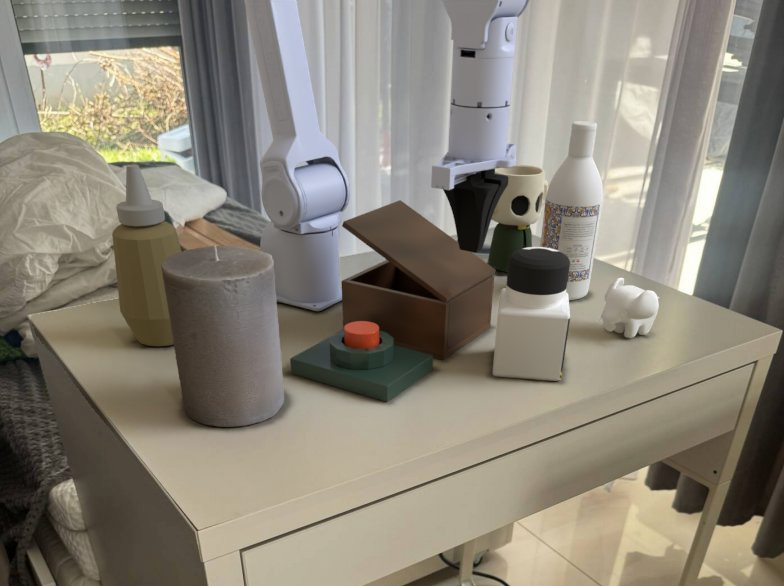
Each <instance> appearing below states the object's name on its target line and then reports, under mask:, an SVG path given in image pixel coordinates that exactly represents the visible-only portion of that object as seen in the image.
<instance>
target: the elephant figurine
mask: <svg viewBox="0 0 784 586" xmlns="http://www.w3.org/2000/svg"><path fill="white" fill-rule="evenodd" d="M624 284H625V278H623V277H618V278H616V279H615V280H614V281H613V282H612V283H611V284H610V285H609V286H608V288H607V289H606V291H605V294H604V302H605V305H604V307H603V310H602V312H601V315H600V317H599V319H598V321H601V320H602V324H603V327H604V329H605V330H606V331H607V332H613V331H614V332H615V333H617V334H622V333H623V336H624V337H625V338H627V339H633V338H635V337H636V335H637V334H638V335H641V336H646V335H648V334H649V332H650V330H651V328H652V327H653V324H654V322H655V320H656V318H657V315H658V312H659V308H660V307H659V305H660V304H659V299H660V297H659V296H658V295H657V293H656V292H655V291H653V290H650V289H647V290H645V289H643V288H641V287H638V286H636V285H632V284H628V285H624Z"/></svg>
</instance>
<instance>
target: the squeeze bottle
mask: <svg viewBox="0 0 784 586" xmlns="http://www.w3.org/2000/svg"><path fill="white" fill-rule="evenodd" d="M125 169H126V170H125V171H126V173H125V175H126V176H125V177H126V178H125V200H124V201H121V202H119V203H117V204H116V206H115V208H116V214H117V219H118V223H120V224H119V225H117V226H116V227H115V228H114V229H113V230H112V237H111V238H112V244H113V245H112V246H113V255H114V263H115V264H114V265H115V273H116V285H117V293H118V300H119V301H118V302H119V311H120V313H121V315H122V317H123V318H124V320H125V322H126V325H128V327H129V329H130V331H131V332H132V334H133V336H134V338H135V339H136V340H137V342H139V343H140V344H142V345H144V346H148V347H149V346H151V347H167V346H168V347H169V346H172V345H173V346H174V343H173V335H172V329H171V323H170V316H169V311H168V304H167V299H166V293H165V287H164V280H163V274H162V268H161V265H162V263H163V261H164V260H165V259H167V258H168V257H169V256H171V255H173V254H175V253H178V252H182V251H183V250H182V247H181V243H180V239H179V236H178V232H177V228H176V227H175V226H174V225H173V224H172V223H169V222H168V221H166V215H165V209H164V203H163V202H162V201H160V200H157V199H152V196H151V194H150V191H149V189H148V187H147V183H146V181H145V179H144V176H143V174H142V171H141V168H140V166H139V164H136V163H135V164H134V163H133V164H127V165H126V168H125Z"/></svg>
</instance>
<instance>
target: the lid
mask: <svg viewBox="0 0 784 586" xmlns="http://www.w3.org/2000/svg"><path fill="white" fill-rule="evenodd" d="M341 227H342V228H343V229H345V230H346V231H348V232H349V233H350V234H351V235H353V236H354V237H356V239H358V240H360V241H361V242H362V243H364V244H365V245H366V246H368V247H369V248H370V249H372V250H373V251H374V252H376V253H377V254H378V255H380V256H381V257H382V258H384V259H385V260H388V261H389V262H390V263H392V264H393V265H395V266H396V267H397V268H399V269H400V270H401V271H403V272H404V273H405V274H407V275H408V276H409V277H411V278H412V279H413V280H415V281H416V282H417V283H419V284H420V285H421V286H423V287H424V288H425V289H427V290H428V291H429V292H431V293H432V294H433V295H435V296H436V297H437V298H439V299H440V300H441V301H443V302H444V303H447V302H448V301H450V300H452V299H453V298H455V297H457V296H458V295H460V294H462V293H463V292H465V291H467V290H468V289H470V288H472V287H473V286H475V285H477V284H478V283H480V282H482V281H483V280H485V279H487V278H488V277H490V276H492V275H494V276H495V274H496V272H497V269H496V268H494V267H492V266H491V265H489V264H488V262H486V261H484V260H483V259H482V258H480V257H479V256H478V255H476V253H474V252H470V251H465V250H460V248H459V243H458V240H457V239H454V238H453V237H452V236H450V235H449V234H448V233H446V232H445V231H444V230H442V229H440V228H439V227H438V226H436V225H435V224H434V223H433V222H432V221H430V220H428V219H427V218H426V217H424V216H423V215H422V214H420V213H419V212H418V211H416V210H415V209H414V208H412V207H411V206H409V205H408V204H407V203H406V202H404V201H402V200H401V199H400V200H397V201H394V202H391V203H388V204H386V205H383V206H381V207H377V208H375V209H373V210H369V211H368V212H365V213H362V214H360V215H357V216H354V217H351V218H349V219H347V220H343V222H342V225H341Z"/></svg>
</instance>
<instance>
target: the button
mask: <svg viewBox="0 0 784 586" xmlns="http://www.w3.org/2000/svg"><path fill="white" fill-rule="evenodd" d="M344 343H345V346H348V347H352V348H361V349H367V348H372V347H376V346H378V345H379V326H378V325H377V324H375V323H372V322H368V321H356V322H351V323H348V324H346V325H345V327H344Z"/></svg>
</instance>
